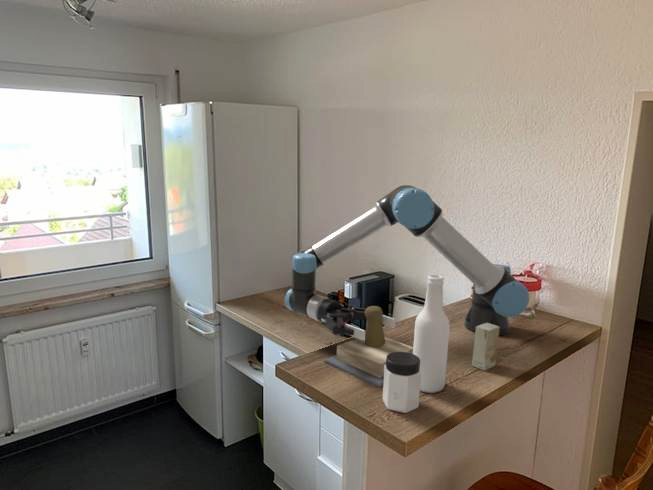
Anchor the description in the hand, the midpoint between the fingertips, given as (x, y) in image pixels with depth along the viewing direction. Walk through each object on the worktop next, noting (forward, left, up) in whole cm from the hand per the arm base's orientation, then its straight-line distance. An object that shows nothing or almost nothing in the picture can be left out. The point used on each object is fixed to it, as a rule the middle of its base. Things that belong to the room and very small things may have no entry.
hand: (379, 329), depth 137 cm
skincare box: (-25, +20, -12) cm, 34 cm away
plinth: (-3, -3, -12) cm, 13 cm away
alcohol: (-2, +15, -12) cm, 20 cm away
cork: (-5, -5, -7) cm, 10 cm away
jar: (+11, +16, -12) cm, 23 cm away
